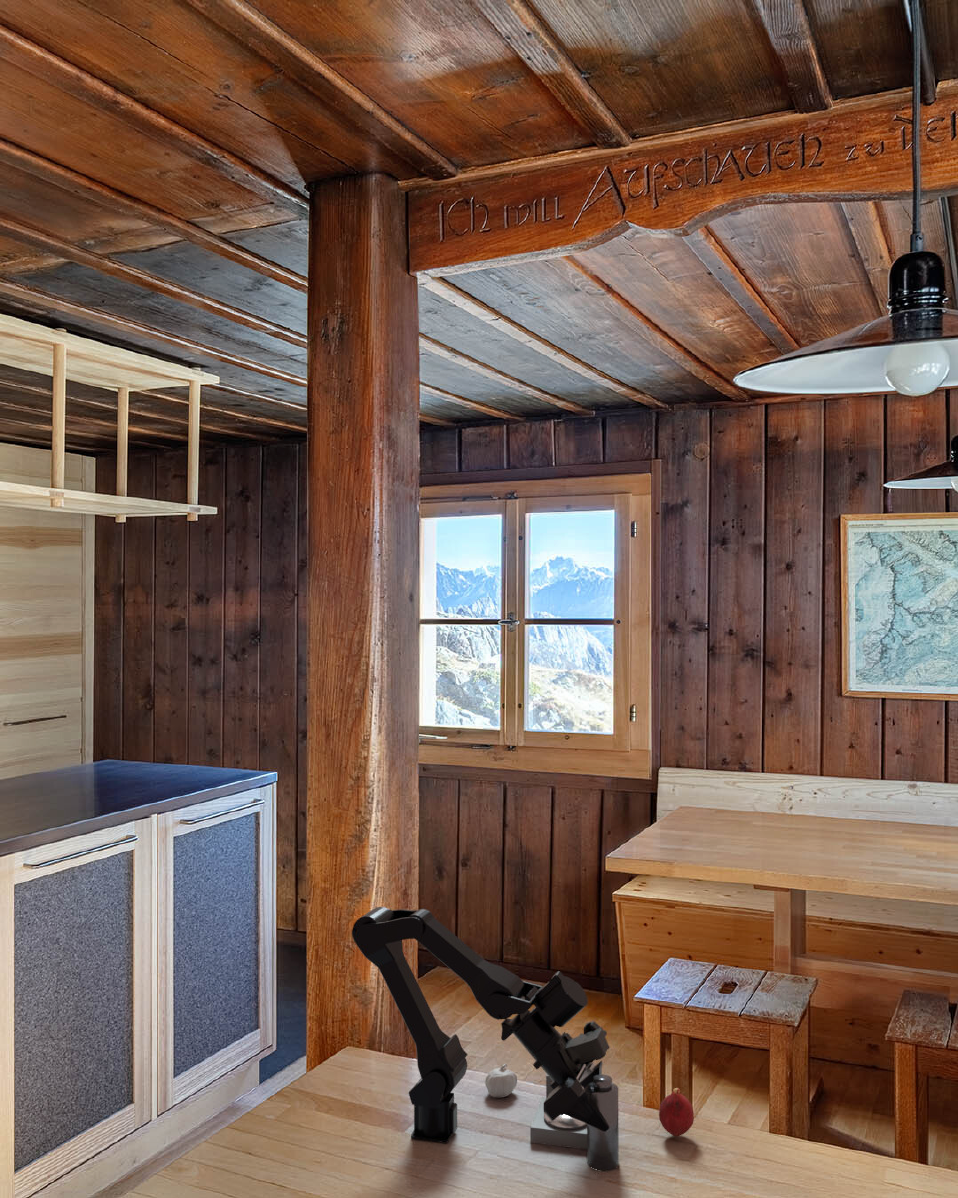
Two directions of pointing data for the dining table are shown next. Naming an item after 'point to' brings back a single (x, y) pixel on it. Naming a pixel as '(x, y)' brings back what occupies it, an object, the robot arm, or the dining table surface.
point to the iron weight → (607, 1143)
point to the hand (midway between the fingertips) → (611, 1122)
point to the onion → (676, 1113)
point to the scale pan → (565, 1122)
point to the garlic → (501, 1082)
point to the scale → (553, 1135)
